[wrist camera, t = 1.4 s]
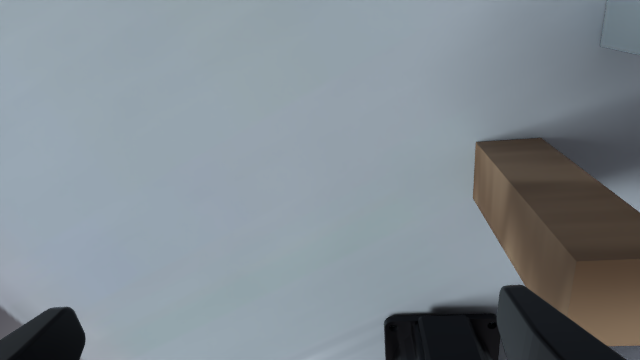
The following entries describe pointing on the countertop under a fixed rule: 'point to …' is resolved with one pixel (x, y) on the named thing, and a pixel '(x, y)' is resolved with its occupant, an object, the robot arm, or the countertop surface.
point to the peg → (563, 235)
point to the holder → (622, 26)
